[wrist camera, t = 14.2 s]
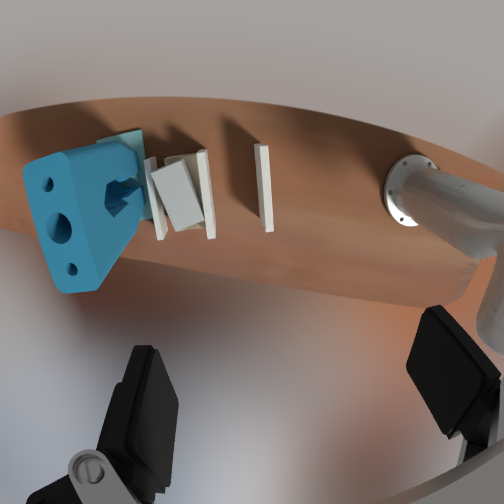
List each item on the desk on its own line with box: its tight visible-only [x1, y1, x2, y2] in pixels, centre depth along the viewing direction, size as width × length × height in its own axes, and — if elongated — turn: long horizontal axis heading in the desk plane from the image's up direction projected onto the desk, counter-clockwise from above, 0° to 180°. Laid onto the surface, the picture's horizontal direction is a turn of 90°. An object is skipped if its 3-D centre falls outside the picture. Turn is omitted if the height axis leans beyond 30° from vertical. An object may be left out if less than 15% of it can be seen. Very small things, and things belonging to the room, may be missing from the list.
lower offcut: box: [164, 153, 206, 231], centre depth 39 cm, size 4×10×4 cm, turn 5°
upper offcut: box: [151, 158, 205, 231], centre depth 36 cm, size 4×8×3 cm, turn 19°
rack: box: [144, 143, 274, 240], centre depth 38 cm, size 16×11×6 cm
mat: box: [96, 130, 153, 220], centre depth 38 cm, size 7×13×1 cm, turn 5°
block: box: [23, 141, 146, 293], centre depth 29 cm, size 12×5×20 cm, turn 5°
